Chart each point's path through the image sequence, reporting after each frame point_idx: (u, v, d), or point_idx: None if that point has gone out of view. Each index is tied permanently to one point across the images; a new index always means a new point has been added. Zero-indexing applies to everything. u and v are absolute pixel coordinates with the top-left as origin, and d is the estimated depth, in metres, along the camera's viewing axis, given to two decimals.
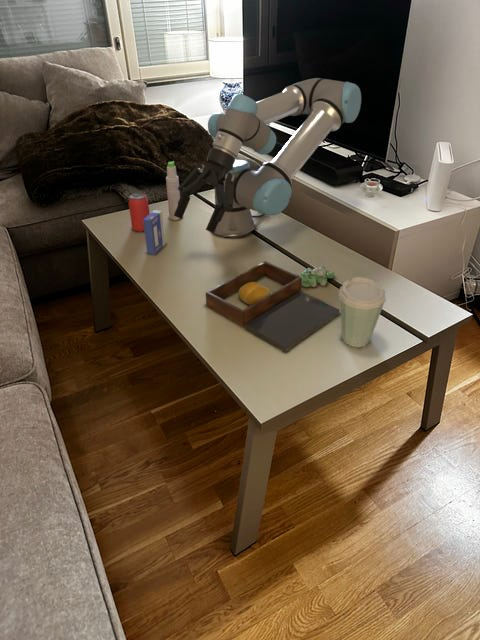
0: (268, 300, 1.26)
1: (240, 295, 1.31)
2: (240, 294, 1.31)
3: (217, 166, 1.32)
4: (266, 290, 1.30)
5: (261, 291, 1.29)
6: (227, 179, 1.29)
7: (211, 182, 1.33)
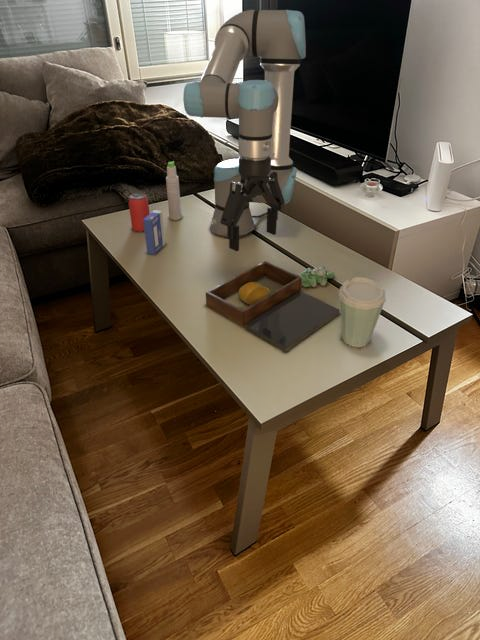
0: (268, 300, 1.26)
1: (240, 295, 1.31)
2: (240, 294, 1.31)
3: None
4: (266, 290, 1.30)
5: (261, 291, 1.29)
6: (275, 179, 1.17)
7: (260, 193, 1.16)
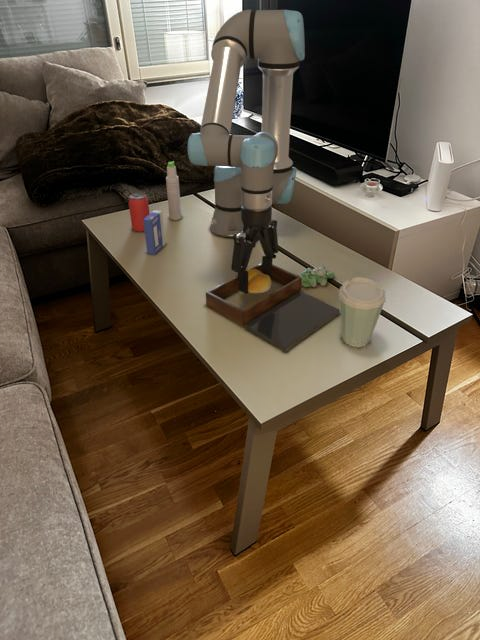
0: (268, 300, 1.26)
1: None
2: None
3: None
4: (266, 277, 1.28)
5: (261, 278, 1.27)
6: (275, 227, 1.24)
7: (262, 238, 1.22)
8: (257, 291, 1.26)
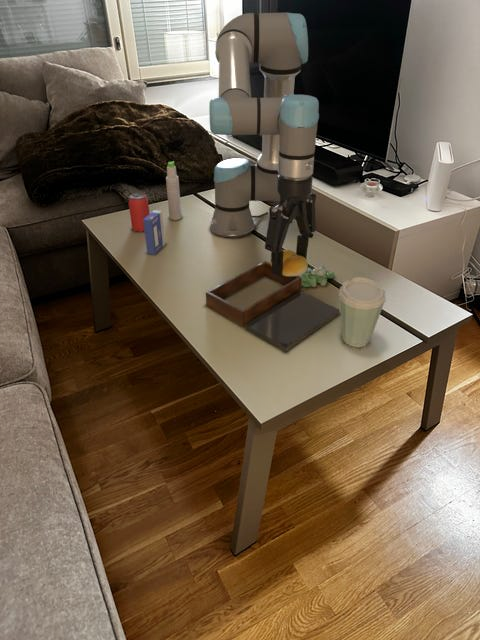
0: (268, 300, 1.26)
1: None
2: None
3: None
4: (302, 258, 1.14)
5: (297, 259, 1.13)
6: (313, 202, 1.11)
7: (299, 213, 1.09)
8: (293, 274, 1.13)
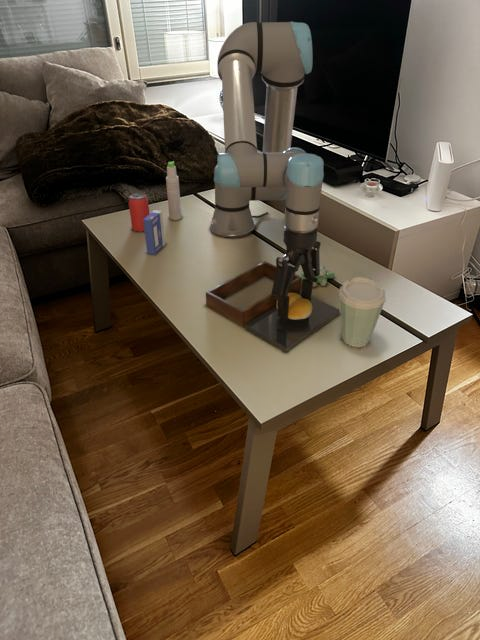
0: (268, 300, 1.26)
1: None
2: None
3: None
4: (307, 302, 1.19)
5: (302, 303, 1.18)
6: (317, 249, 1.16)
7: (304, 261, 1.14)
8: (298, 317, 1.18)
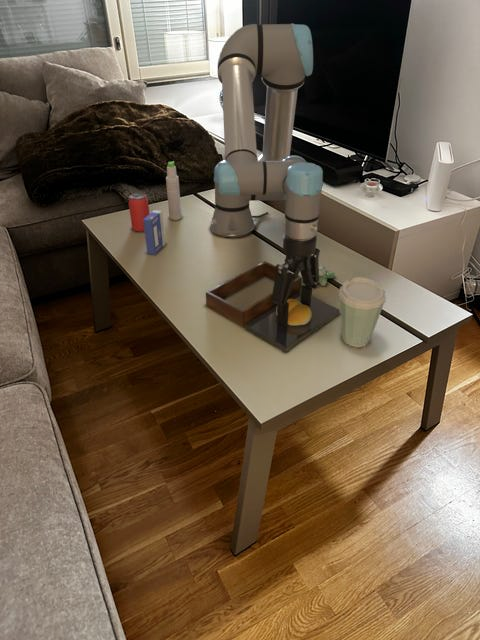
0: (268, 300, 1.26)
1: None
2: None
3: None
4: (307, 308, 1.21)
5: (302, 310, 1.19)
6: (317, 256, 1.17)
7: (304, 268, 1.15)
8: (297, 323, 1.19)
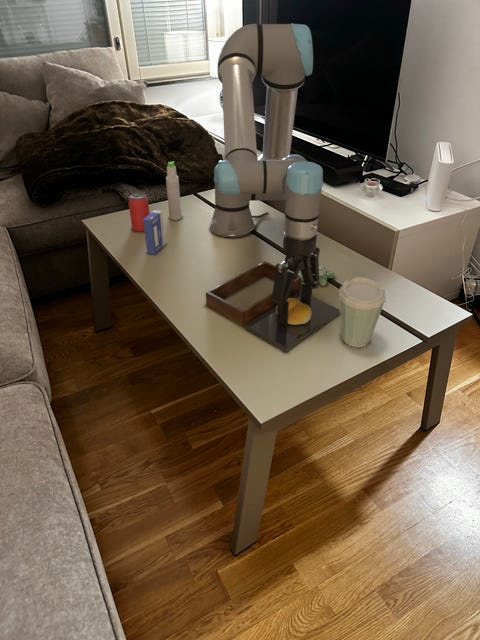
0: (268, 300, 1.26)
1: None
2: None
3: None
4: (307, 307, 1.20)
5: (302, 309, 1.19)
6: (317, 255, 1.17)
7: (304, 267, 1.15)
8: (297, 322, 1.19)
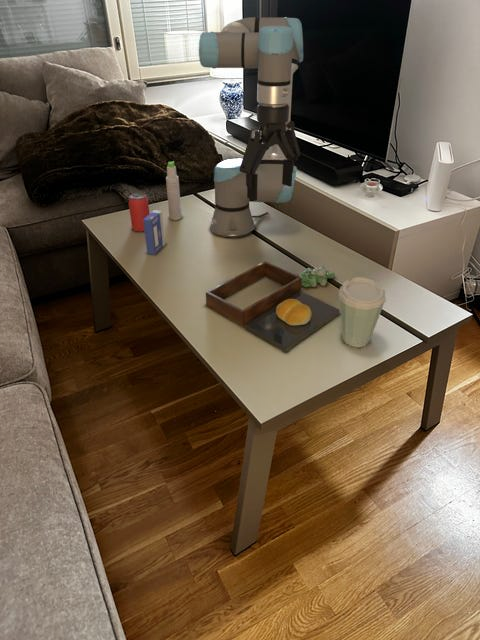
0: (268, 300, 1.26)
1: (278, 313, 1.21)
2: (278, 313, 1.21)
3: None
4: (306, 308, 1.21)
5: (302, 310, 1.19)
6: (292, 129, 1.19)
7: (278, 142, 1.18)
8: (297, 323, 1.19)
